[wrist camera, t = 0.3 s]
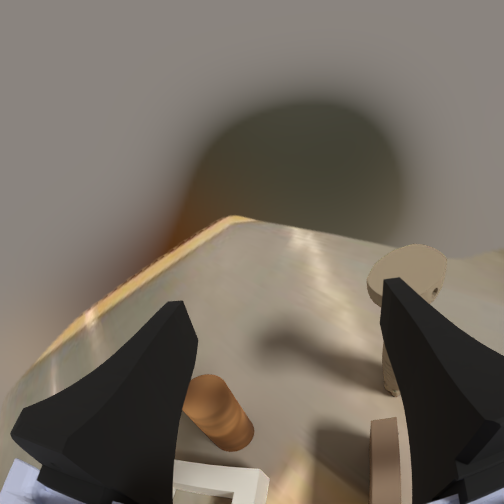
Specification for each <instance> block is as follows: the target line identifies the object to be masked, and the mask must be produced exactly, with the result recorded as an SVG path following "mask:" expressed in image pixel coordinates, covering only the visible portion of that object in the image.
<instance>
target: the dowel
mask: <svg viewBox="0 0 504 504" xmlns="http://www.w3.org/2000/svg"><path fill="white" fill-rule="evenodd" d="M182 410H183V411H184V412H185V413H186V414H187V415H188V416H189V417H190V419H191V420H192V421H193V422H194V423H195V424H196V425H197V426H198V427H199V428H200V429H201V430H202V431H203V432H204V433H205V434H206V435H207V436H208V437H209V438H210V439H211V440H212V441H213V442H214V443H215V444H216V445H217V446H218V447H219V448H220V449H222V450H224V451H229V452H233V451H238V450H241V449H243V448H244V447H246V446H247V445H248V444H249V443H250V442H251V440H252V438H253V436H254V427H253V424H252V423H251V421H250V420H249V418H248V417H247V415H246V414H245V412H244V411H243V409H242V408H241V406H240V405H239V403H238V402H237V400H236V399H235V397H234V396H233V394H232V392H231V391H230V389H229V388H228V386H227V385H226V383H225V382H224V380H223V379H221V378H220V377H218V376H216V375H209V374H208V375H201V376H198V377H196V378H194V379H192V380H191V381H190V384H189V387H188V390H187V394H186V397H185V401H184V405H183V408H182Z"/></svg>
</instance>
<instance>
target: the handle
mask: <svg viewBox="0 0 504 504" xmlns="http://www.w3.org/2000/svg"><path fill="white" fill-rule="evenodd" d="M446 266H447V259H446V257H445V256H444V255H443V254H442V253H441V252H440V251H438V250H436V249H434V248H432V247H429V246H426V245H421V244H411V245H408V246H405V247H401V248H398V249H396V250H393V251H391V252H390V253H388V254H387V255H385V256H384V257H383V258H381V259H380V260H379V261H378V262H376V263H375V265H374V266H373V268H372V269H371V271H370V273H369V275H368V277H367V289H368V293H369V296H370V298H371V299H372V301H373V302H374V303H375V304H377V305H378V306H379V307H381V306H382V293H383V279H390V278H397V277H400V278H401V279H402V280H403V281H405V282H406V283H407V284H408V285H409V286H410V287H411V288H412V289H413V290H414V291H415V292H417V293H418V294H419V295H420V296H421V297H422V298H423V299H424V300H425V301H427V302H428V303H429V304H430V303H431V302H433V301H434V299H435V298H436V297H437V295H438V293H439V292H440V290H441V288H442V285H443V282H444V278H445V273H446ZM382 365H383V375H384V379H385V381H384V386H385V389H386V390H388V391H390V392H391V393H392V395H393V396H396V397H397V396H398V395H401V394H400V391H399V387H398V384H397V381H396V378H395V375H394V372H393V369H392V366H391V363H390V360H389V357H388V354H387V351H386V348H385V344H383V354H382Z"/></svg>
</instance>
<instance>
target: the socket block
mask: <svg viewBox="0 0 504 504" xmlns="http://www.w3.org/2000/svg"><path fill="white" fill-rule="evenodd" d="M269 480H270V479H269V478H268V477H267V476H266V475H265V474H264V473H263V472H262V471H261V470H260V469H253V468H239V467H227V466H217V465H209V464H201V463H194V462H187V461H181V460H175V459H174V472H173V497H174V494H175V490H176V489H178V490H183V491H188V492H193V493H199V494H205V495H211V496H218V497H225V498H233V500H232V504H266V499H267V493H268V487H269Z"/></svg>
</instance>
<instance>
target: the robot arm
mask: <svg viewBox="0 0 504 504" xmlns="http://www.w3.org/2000/svg"><path fill="white" fill-rule="evenodd" d="M380 326H381V330H382V335H383V340H384V344H385V348H386V351H387V354H388V357H389V360H390V363H391V366H392V369H393V372H394V375H395V378H396V381H397V384H398V387H399V391H400V394H401V397H402V401H403V405H404V410H405V416H406V422H407V428H408V436H409V444H410V454H411V467H412V504H504V356H503V355H501V354H499V353H497V352H496V351H494V350H492V349H490V348H488V347H487V346H485V345H483V344H482V343H480V342H478V341H477V340H475V339H474V338H472V337H471V336H469V335H468V334H467V333H465V332H464V331H462V330H461V329H459V328H458V327H457V326H455V325H454V324H453V323H452V322H450V321H449V320H448V319H447V318H445V317H444V316H443V315H442V314H440V313H439V312H438V311H437V310H436V309H435V308H433V307H432V306H431V305H430V304H429V303H428V302H427V301H425V300H424V299H423V298H422V297H421V296H420V295H419V294H418V293H417V292H415V291H414V290H413V289H412V288H411V287H410V286H409V285H408V284H407V283H406V282H405V281H403V280H402V279H401V278H400V277H397V278H390V279H383V293H382V306H381V317H380ZM197 346H198V338H197V335H196V333H195V331H194V328H193V326H192V323H191V320H190V318H189V315H188V313H187V310H186V308H185V305H184V302H183V301H170V302H167V303H166V304H165V305H164V306H163V307H162V308H161V309H160V310H159V311H158V312H157V313H156V314H155V315H154V316H153V317H152V318H151V319H150V320H149V321H148V322H147V323H146V324H145V325H144V326H143V327H142V328H141V329H140V330H139V331H138V332H137V333H136V334H135V335H134V336H133V337H132V338H131V339H130V340H129V341H128V342H126V343H125V344H124V345H123V346H122V347H121V348H120V349H119V350H118V351H117V352H116V353H115V354H114V355H112V356H111V357H110V358H109V359H108V360H106V361H105V362H104V363H103V364H101V365H100V366H99V367H98V368H96V369H95V370H94V371H92V372H91V373H90V374H88V375H87V376H85V377H83V378H82V379H80V380H79V381H77V382H76V383H74V384H73V385H71V386H70V387H68V388H66V389H64V390H63V391H61V392H59V393H57V394H55V395H53V396H51V397H49V398H47V399H45V400H43V401H40V402H38V403H36V404H33V405H31V406H29V407H26V408H24V409H23V410H22V412H21V414H20V416H19V417H18V419H17V421H16V423H15V425H14V427H13V429H12V431H11V433H10V434H11V437H12V439H13V440H14V441H15V442H16V443H17V444H18V445H19V446H20V447H21V448H22V449H23V450H25V451H26V452H27V453H28V454H30V455H31V456H32V457H33V458H35V459H36V460H37V461H38V462H40V463H41V464H42V468H41V470H39V469H37V468H36V467H34V466H32V465H30V464H28V463H26V462H24V461H22V460H20V459H18V458H15V460H14V462H13V465H12V467H11V469H10V471H9V474H8V476H7V478H6V481H5V483H4V486H3V488H2V490H1V493H0V504H173V472H174V458H175V449H176V440H177V433H178V427H179V420H180V416H181V412H182V408H183V405H184V401H185V397H186V394H187V390H188V387H189V384H190V380H191V376H192V373H193V369H194V366H195V361H196V354H197Z"/></svg>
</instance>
